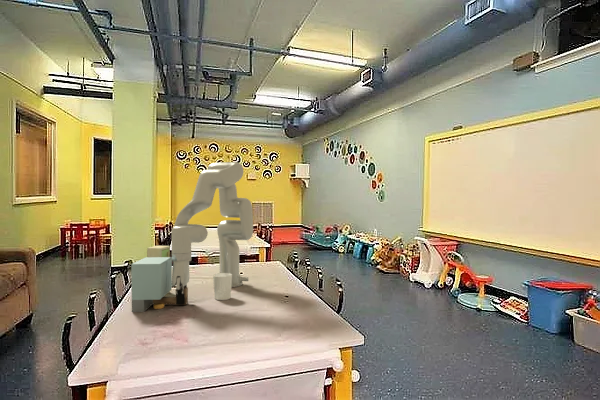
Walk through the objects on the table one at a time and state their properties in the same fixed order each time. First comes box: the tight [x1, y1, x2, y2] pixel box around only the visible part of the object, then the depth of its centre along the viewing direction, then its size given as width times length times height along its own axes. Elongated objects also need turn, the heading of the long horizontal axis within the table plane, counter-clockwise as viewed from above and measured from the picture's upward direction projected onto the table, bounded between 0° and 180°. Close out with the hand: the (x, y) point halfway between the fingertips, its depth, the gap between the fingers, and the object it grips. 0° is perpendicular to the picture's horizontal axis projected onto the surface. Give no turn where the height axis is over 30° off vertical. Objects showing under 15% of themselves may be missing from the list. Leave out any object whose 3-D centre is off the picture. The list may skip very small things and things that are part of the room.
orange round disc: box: [153, 303, 165, 310], centre depth 156 cm, size 4×4×2 cm
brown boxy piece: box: [152, 286, 189, 306], centre depth 159 cm, size 13×4×6 cm, turn 93°
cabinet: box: [130, 256, 173, 313], centre depth 158 cm, size 11×16×18 cm
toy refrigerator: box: [146, 245, 171, 293], centre depth 177 cm, size 8×7×21 cm
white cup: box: [212, 272, 232, 301], centre depth 170 cm, size 8×8×10 cm
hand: (181, 302), depth 160 cm, fingers closed on brown boxy piece, 3 cm apart
